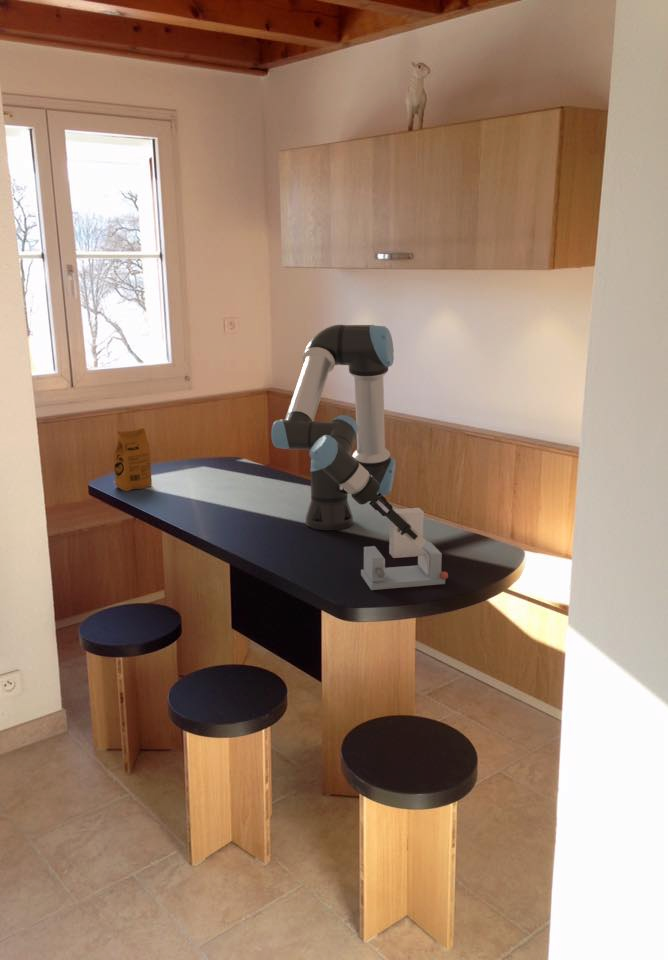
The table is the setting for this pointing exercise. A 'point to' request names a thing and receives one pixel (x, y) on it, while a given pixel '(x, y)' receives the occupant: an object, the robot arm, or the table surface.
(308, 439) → the robot arm
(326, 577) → the table surface
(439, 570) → the vise
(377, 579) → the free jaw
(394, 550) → the steel block
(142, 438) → the coffee package
